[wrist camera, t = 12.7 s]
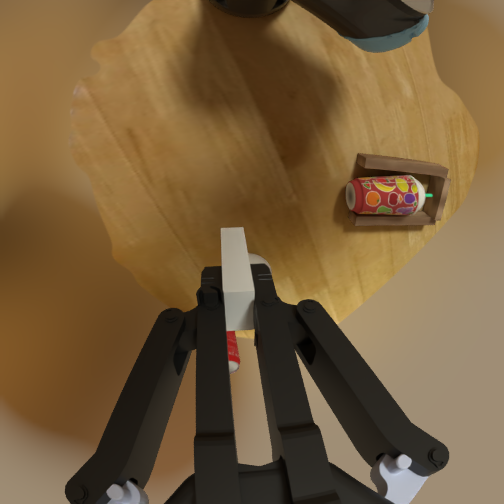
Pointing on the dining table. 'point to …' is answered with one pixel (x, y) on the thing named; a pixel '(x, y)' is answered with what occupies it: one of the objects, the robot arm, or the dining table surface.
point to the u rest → (438, 172)
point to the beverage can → (232, 352)
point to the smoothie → (386, 195)
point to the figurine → (257, 260)
